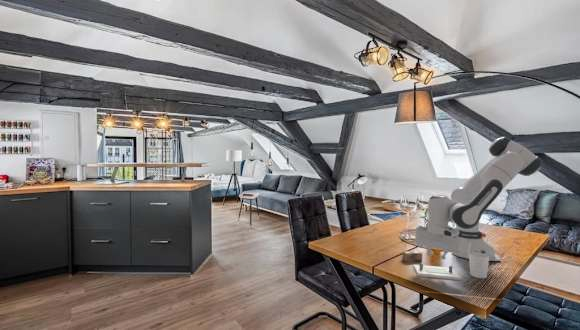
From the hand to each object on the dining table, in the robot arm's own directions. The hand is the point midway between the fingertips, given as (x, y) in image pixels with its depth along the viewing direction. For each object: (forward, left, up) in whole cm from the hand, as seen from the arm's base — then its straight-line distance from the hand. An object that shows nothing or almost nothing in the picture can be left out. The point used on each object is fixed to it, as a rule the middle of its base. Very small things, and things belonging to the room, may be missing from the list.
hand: (436, 257), depth 139 cm
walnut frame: (+9, -15, -8) cm, 19 cm away
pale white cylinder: (-19, -2, -8) cm, 20 cm away
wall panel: (0, 0, -8) cm, 8 cm away
